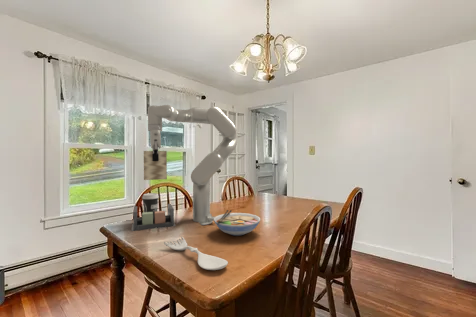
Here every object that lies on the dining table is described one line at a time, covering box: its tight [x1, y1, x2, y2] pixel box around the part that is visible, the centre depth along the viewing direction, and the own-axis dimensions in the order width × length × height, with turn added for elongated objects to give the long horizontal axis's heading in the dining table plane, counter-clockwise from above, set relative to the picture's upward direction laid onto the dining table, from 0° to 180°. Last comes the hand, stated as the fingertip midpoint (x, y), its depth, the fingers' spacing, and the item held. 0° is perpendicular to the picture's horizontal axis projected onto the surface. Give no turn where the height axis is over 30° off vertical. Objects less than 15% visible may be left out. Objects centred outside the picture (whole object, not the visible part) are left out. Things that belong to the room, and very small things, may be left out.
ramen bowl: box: [213, 209, 261, 237], centre depth 113 cm, size 25×23×8 cm
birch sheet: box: [143, 150, 168, 181], centre depth 130 cm, size 12×2×16 cm, turn 113°
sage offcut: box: [141, 211, 153, 225], centre depth 119 cm, size 5×4×7 cm
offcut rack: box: [130, 203, 177, 232], centre depth 123 cm, size 21×14×10 cm, turn 113°
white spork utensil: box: [163, 236, 229, 271], centre depth 87 cm, size 9×32×4 cm, turn 45°
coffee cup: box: [141, 192, 160, 217], centre depth 139 cm, size 10×10×15 cm
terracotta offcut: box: [155, 210, 166, 224], centre depth 122 cm, size 5×4×7 cm
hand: (155, 160), depth 130 cm, fingers closed on birch sheet, 2 cm apart
